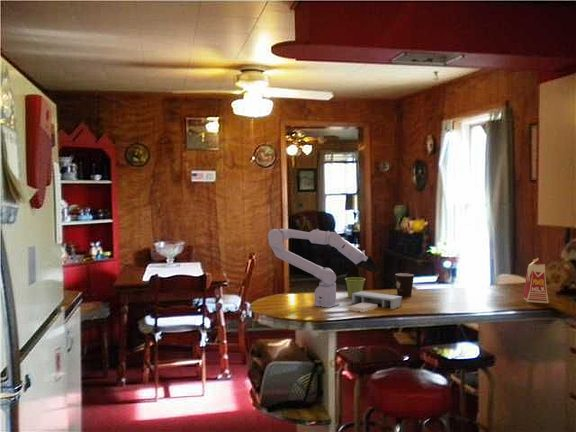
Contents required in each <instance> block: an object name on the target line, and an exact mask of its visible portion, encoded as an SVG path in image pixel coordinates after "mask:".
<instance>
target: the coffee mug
mask: <svg viewBox="0 0 576 432" xmlns="http://www.w3.org/2000/svg"><path fill="white" fill-rule="evenodd" d="M394 275H395V276H394V279H393V280H394V283H395V285H396V293H397V295H396V296H402V298H411V296H412V292H413V286H414V276H415V275H414V274H412V273H402V272H400V273H399V272H398V273H395V274H394Z"/></svg>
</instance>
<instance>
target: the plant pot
mask: <svg viewBox="0 0 576 432" xmlns="http://www.w3.org/2000/svg"><path fill="white" fill-rule="evenodd" d="M344 280H345V283H346V289H347V297H348V298H349V299H352V294H353V293H356V292H360V291H364V289H363V288H364V284H365V281H366V278H364V277H354V276H351V277H345V278H344Z"/></svg>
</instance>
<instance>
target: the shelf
mask: <svg viewBox="0 0 576 432" xmlns="http://www.w3.org/2000/svg"><path fill="white" fill-rule="evenodd" d="M402 298H403V297H402V296H397V295H393V294H387V293H385V294H384V293H378V292H371V291H370V292H369V291H364V290H363V291H360V292H356V293H353V294H352V298H351V304H358V303H362V302H366V303H373V304H378V305H379V304H380V305H381V308H386V306H387V307H389V306H390V309H391V310H394V309H397V307H398V308H400V307H402V304H403V303H402V302H403V299H402Z"/></svg>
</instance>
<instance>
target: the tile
mask: <svg viewBox="0 0 576 432" xmlns="http://www.w3.org/2000/svg"><path fill="white" fill-rule="evenodd" d="M378 305H379V304H378V303H371V302H370V303H366V302H362V301H361V302H358V303H354V304H353V305H350V306H348V311H351V310H354V311H353V312H358V311H360V313H366V312H369V311H372V310H375V309H377V308H378ZM368 310H369V311H368ZM365 311H366V312H365Z"/></svg>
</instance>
